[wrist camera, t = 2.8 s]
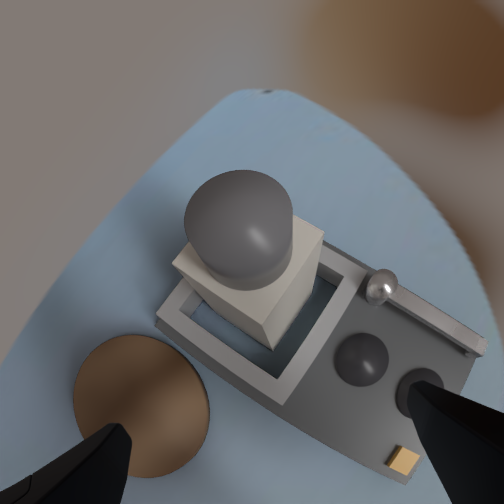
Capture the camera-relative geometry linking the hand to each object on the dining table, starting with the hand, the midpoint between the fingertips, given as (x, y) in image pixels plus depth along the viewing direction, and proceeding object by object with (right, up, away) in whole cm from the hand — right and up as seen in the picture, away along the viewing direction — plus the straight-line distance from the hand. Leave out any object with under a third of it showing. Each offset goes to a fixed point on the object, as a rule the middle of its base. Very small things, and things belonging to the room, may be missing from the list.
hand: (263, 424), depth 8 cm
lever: (+12, 0, +13) cm, 18 cm away
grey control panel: (+5, -1, +13) cm, 14 cm away
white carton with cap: (+1, +1, +15) cm, 15 cm away
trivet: (-9, -7, +13) cm, 17 cm away
